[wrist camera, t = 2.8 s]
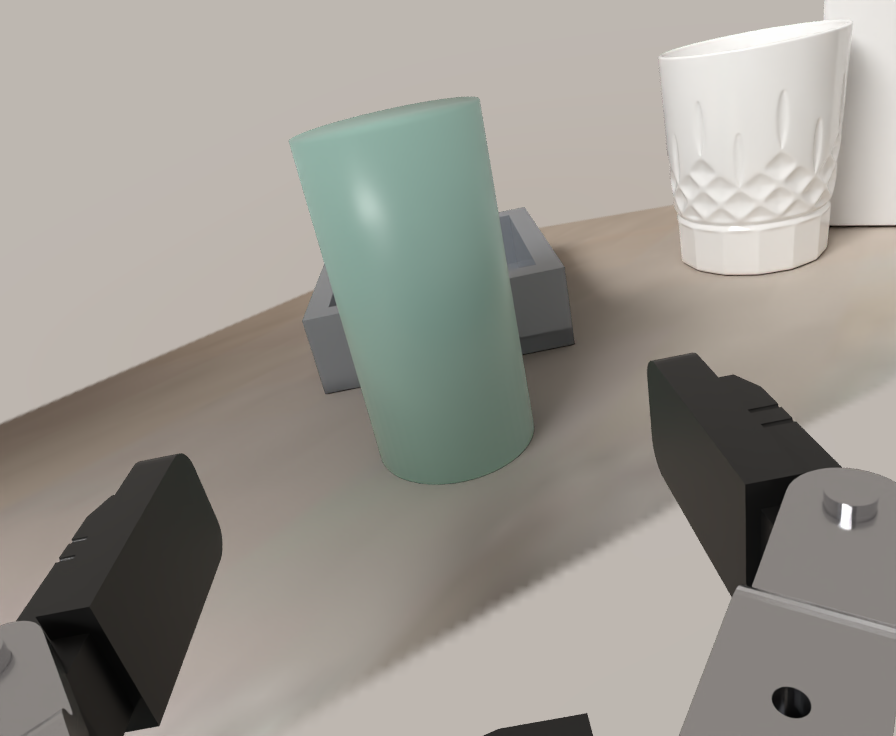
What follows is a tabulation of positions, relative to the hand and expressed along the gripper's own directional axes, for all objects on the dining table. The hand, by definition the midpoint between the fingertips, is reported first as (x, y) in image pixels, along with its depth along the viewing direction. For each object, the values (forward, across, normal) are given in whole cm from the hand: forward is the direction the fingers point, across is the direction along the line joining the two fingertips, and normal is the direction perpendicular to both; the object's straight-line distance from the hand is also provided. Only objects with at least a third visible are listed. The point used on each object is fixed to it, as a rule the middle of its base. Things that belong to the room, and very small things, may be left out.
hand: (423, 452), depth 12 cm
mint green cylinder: (+11, 0, +6) cm, 13 cm away
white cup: (+23, -16, +7) cm, 29 cm away
